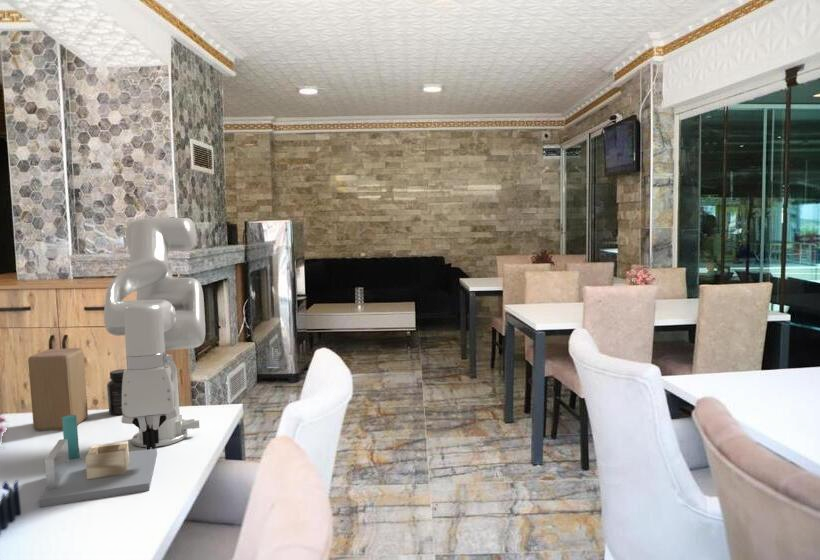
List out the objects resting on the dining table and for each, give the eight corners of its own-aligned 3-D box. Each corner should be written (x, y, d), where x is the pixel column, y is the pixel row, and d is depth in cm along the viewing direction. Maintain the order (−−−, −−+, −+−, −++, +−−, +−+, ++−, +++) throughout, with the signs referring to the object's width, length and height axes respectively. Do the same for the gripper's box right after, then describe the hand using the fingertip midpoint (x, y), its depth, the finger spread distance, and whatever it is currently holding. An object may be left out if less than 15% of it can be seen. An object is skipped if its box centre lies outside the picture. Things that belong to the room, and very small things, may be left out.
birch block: (129, 461, 128) (127, 441, 128) (125, 473, 121) (123, 452, 121) (93, 466, 126) (91, 445, 125) (87, 479, 119) (85, 457, 119)
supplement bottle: (109, 410, 170) (106, 369, 169) (135, 407, 173) (133, 367, 172) (108, 417, 164) (105, 375, 163) (134, 413, 167) (132, 372, 166)
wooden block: (52, 419, 163) (46, 348, 161) (89, 417, 164) (84, 347, 162) (32, 432, 153) (25, 356, 151) (72, 430, 154) (66, 355, 152)
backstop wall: (69, 465, 126) (67, 438, 126) (56, 488, 115) (53, 459, 115) (61, 466, 126) (59, 439, 125) (47, 490, 115) (44, 460, 114)
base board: (157, 454, 136) (156, 448, 136) (149, 490, 117) (148, 483, 117) (63, 467, 130) (63, 460, 130) (39, 507, 111) (38, 499, 111)
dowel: (80, 456, 136) (77, 414, 135) (78, 461, 133) (74, 418, 132) (66, 458, 135) (63, 415, 134) (64, 463, 132) (60, 419, 131)
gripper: (184, 355, 130) (189, 437, 131) (109, 362, 125) (115, 447, 126) (183, 361, 123) (188, 448, 124) (104, 368, 118) (109, 458, 119)
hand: (151, 447), depth 125 cm, fingers closed
